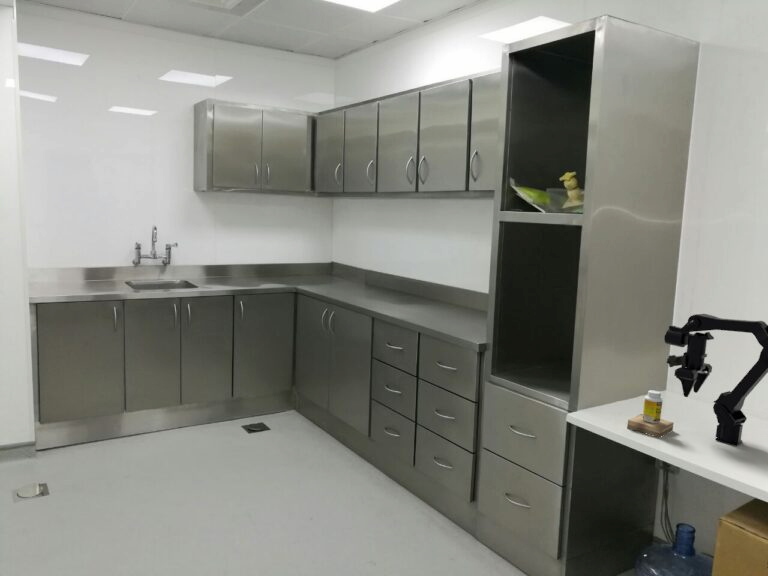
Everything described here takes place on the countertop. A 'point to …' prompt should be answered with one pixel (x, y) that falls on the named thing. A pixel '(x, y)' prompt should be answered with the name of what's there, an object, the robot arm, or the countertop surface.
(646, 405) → the supplement bottle
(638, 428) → the brown box
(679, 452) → the countertop surface
